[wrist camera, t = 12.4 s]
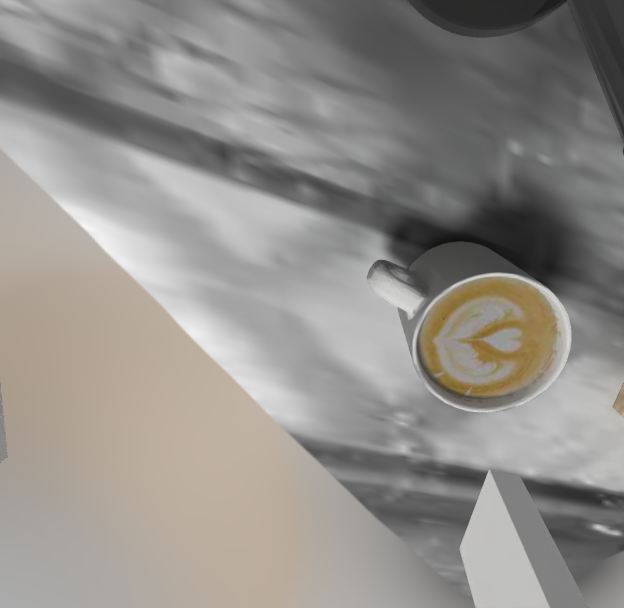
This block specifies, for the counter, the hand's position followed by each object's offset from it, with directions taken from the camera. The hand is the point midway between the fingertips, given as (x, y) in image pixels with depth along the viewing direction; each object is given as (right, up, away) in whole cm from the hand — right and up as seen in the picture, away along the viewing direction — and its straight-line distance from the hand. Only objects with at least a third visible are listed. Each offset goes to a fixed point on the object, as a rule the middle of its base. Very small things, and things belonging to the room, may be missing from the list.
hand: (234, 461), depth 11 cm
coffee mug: (+13, +6, +25) cm, 29 cm away
